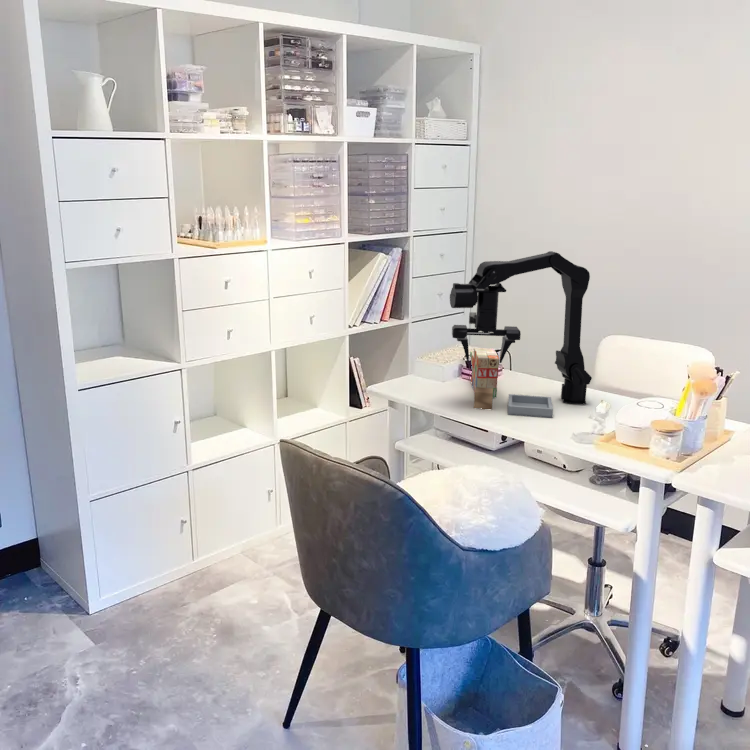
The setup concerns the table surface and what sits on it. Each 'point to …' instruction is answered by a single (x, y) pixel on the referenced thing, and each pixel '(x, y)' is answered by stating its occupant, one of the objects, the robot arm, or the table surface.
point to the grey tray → (530, 406)
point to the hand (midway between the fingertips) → (483, 362)
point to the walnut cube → (483, 398)
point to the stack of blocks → (484, 368)
